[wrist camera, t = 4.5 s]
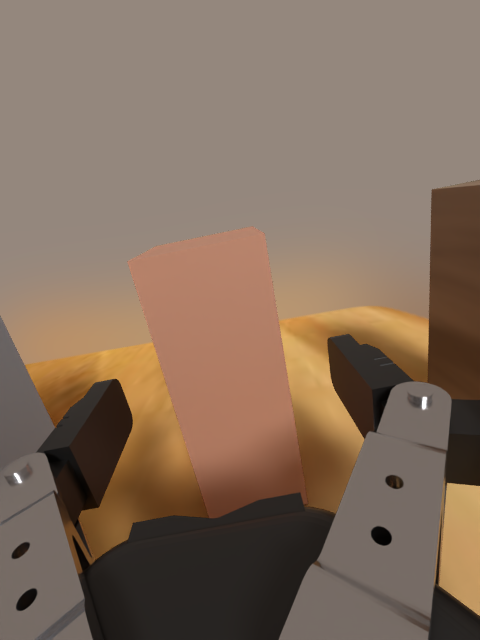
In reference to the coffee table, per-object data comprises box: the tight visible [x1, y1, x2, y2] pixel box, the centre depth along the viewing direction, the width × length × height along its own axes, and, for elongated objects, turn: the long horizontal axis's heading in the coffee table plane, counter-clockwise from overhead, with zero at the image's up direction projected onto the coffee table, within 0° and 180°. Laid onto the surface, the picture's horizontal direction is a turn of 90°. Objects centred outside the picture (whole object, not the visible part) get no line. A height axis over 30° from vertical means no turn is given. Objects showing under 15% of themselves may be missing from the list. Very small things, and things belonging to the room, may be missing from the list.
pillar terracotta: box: [128, 226, 308, 518], centre depth 14 cm, size 4×4×12 cm
